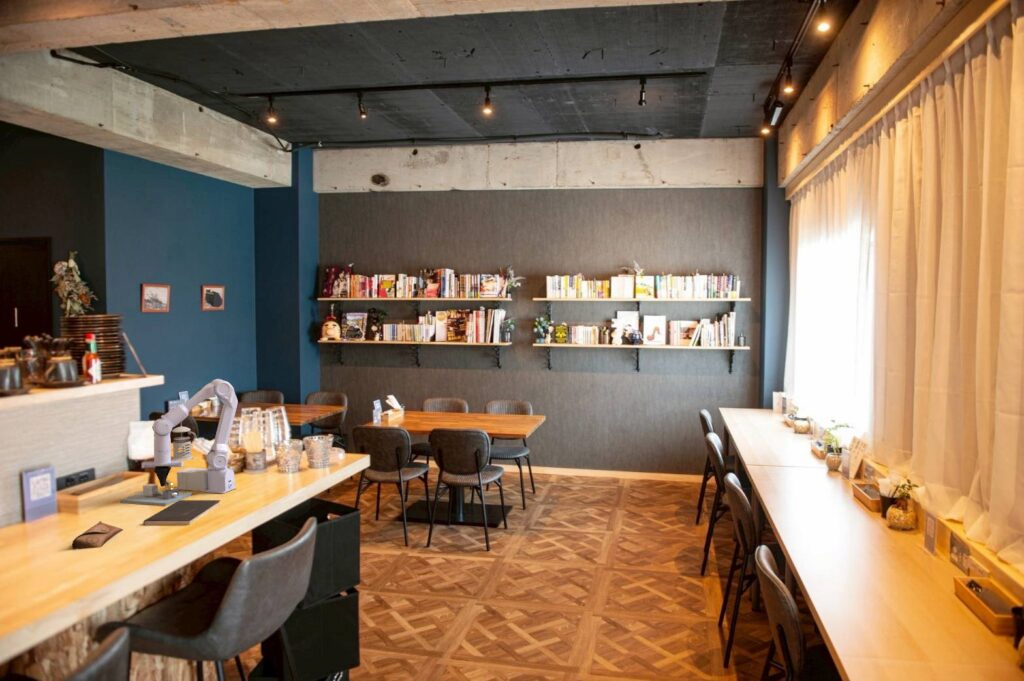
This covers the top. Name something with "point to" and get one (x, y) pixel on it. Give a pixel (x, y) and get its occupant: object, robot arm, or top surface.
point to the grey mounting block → (168, 493)
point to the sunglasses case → (95, 536)
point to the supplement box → (192, 479)
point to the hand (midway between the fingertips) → (163, 486)
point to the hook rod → (154, 491)
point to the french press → (182, 445)
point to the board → (154, 499)
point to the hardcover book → (182, 512)
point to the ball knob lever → (169, 485)
